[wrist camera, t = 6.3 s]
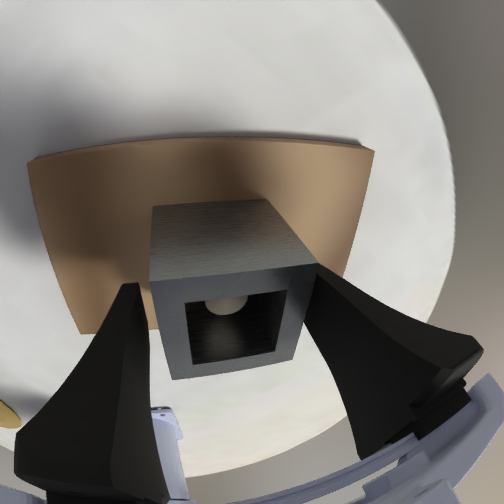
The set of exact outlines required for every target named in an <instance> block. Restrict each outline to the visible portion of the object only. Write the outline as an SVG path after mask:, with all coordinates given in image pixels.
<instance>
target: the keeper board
mask: <svg viewBox="0 0 504 504" xmlns="http://www.w3.org/2000/svg"><path fill="white" fill-rule="evenodd" d="M374 152H375V151H373V150H371V149H369V148H367V147H364V146H359V145H352V144H344V143H335V142H325V141H315V140H302V139H287V138H267V137H192V138H172V139H157V140H145V141H134V142H125V143H117V144H109V145H101V146H94V147H88V148H82V149H76V150H70V151H65V152H59V153H54V154H50V155H45V156H40V157H36V158H34V159H33V160H32V161H30V162H29V163H27V167H28V173H29V179H30V184H31V189H32V194H33V199H34V204H35V208H36V212H37V216H38V220H39V224H40V228H41V231H42V235H43V238H44V242H45V245H46V248H47V251H48V255H49V258H50V261H51V264H52V266H53V269H54V272H55V275H56V278H57V280H58V283H59V286H60V288H61V291H62V293H63V296H64V298H65V301H66V303H67V305H68V308H69V310H70V312H71V315H72V317H73V319H74V321H75V323H76V326H77V328H78V330H79V332H80V334H96V333H97V331H98V330H99V328H100V326H101V324H102V322H103V320H104V318H105V317H106V315H107V313H108V311H109V309H110V307H111V305H112V303H113V301H114V299H115V297H116V295H117V293H118V291H119V288H120V286H121V285H122V284H124V283H135V282H139V285H140V290H141V295H142V299H143V303H144V308H145V312H146V316H147V320H148V329H149V330H153V329H159V327H158V323H157V318H156V313H155V309H154V304H153V299H152V294H151V289H150V283H149V264H150V239H151V222H152V208H153V206H159V205H171V204H184V203H197V202H213V201H230V200H251V199H268V200H269V202H270V203H271V204H272V205H273V206H274V208H275V209H276V210H277V211H278V212H279V214H280V215H281V216H282V217H283V218H284V220H285V221H286V222H287V223H288V225H289V226H290V227H291V228H292V229H293V231H294V232H295V233H296V234H297V236H298V237H299V238H300V239H301V241H302V242H303V243H304V244H305V246H306V247H307V248H308V249H309V251H310V252H311V253H312V254H313V256H314V257H315V258H316V259H317V261H318V262H319V264H321V265H323V266H325V267H326V268H328V269H330V270H331V271H333V272H334V273H336V274H337V275H339V276H340V277H343V274H344V271H345V268H346V265H347V261H348V258H349V254H350V251H351V248H352V244H353V241H354V237H355V233H356V230H357V226H358V222H359V218H360V214H361V211H362V207H363V202H364V198H365V194H366V190H367V186H368V181H369V177H370V172H371V167H372V162H373V158H374ZM247 298H248V295H245V296H237V297H229V298H221V299H213V300H205V304H206V307H207V308H208V310H210V311H211V312H213V313H215V314H218V315H227V314H231V313H234V312H236V311H238V310H239V309H241V308H242V307H243V306H244V305H245V303H246V301H247Z"/></svg>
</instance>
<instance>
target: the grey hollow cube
mask: <svg viewBox="0 0 504 504" xmlns="http://www.w3.org/2000/svg"><path fill="white" fill-rule="evenodd" d="M318 265H319V262H318V261H317V259H316V258H315V257H314V256H313V254H312V253H311V252H310V251H309V249H308V248H307V247H306V246H305V244H304V243H303V242H302V241H301V239H300V238H299V237H298V236H297V234H296V233H295V232H294V231H293V229H292V228H291V227H290V226H289V225H288V223H287V222H286V221H285V220H284V218H283V217H282V216H281V215H280V214H279V212H278V211H277V210H276V209H275V208H274V206H273V205H272V204H271V203H270V202H269V200H268V199H251V200H230V201H213V202H197V203H184V204H171V205H159V206H153V208H152V222H151V239H150V264H149V283H150V289H151V294H152V299H153V304H154V309H155V313H156V318H157V323H158V327H159V331H160V335H161V340H162V344H163V348H164V352H165V356H166V359H167V363H168V367H169V370H170V374H171V378H172V380H178V379H186V378H194V377H202V376H209V375H216V374H222V373H228V372H234V371H240V370H245V369H251V368H256V367H261V366H266V365H271V364H275V363H280V362H284V361H289V360H292V359H293V356H294V353H295V349H296V346H297V343H298V339H299V336H300V333H301V329H302V326H303V322H304V319H305V315H306V311H307V308H308V304H309V300H310V297H311V293H312V289H313V285H314V281H315V277H316V273H317V269H318ZM245 295H248V298H247V301H246V303H245V305H244V306H243V307H242V308H241V309H239V310H238V311H236V312H234V313H231V314H227V315H218V314H215V313H213V312H211V311H210V310H208V308H207V307H206V304H205V300H213V299H221V298H229V297H237V296H245Z"/></svg>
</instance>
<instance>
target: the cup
mask: <svg viewBox="0 0 504 504" xmlns="http://www.w3.org/2000/svg"><path fill="white" fill-rule="evenodd" d="M0 426H1V427H5V428H18V427H20V426H21V421H20V419H19V418H18V416H17V415H16V414H15V413H14V412H13V411H12V410H11V409H10V408H8V407H7V406H6V405H5V404H3V403H2V402H1V401H0Z"/></svg>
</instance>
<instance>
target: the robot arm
mask: <svg viewBox="0 0 504 504" xmlns="http://www.w3.org/2000/svg"><path fill="white" fill-rule="evenodd" d="M304 324H305V325H306V327H307V329H308V331H309V333H310V335H311V336H312V338H313V340H314V342H315V343H316V345H317V347H318V349H319V351H320V352H321V354H322V356H323V358H324V359H325V361H326V363H327V365H328V367H329V369H330V371H331V373H332V375H333V378H334V380H335V382H336V385H337V387H338V390H339V392H340V395H341V398H342V401H343V403H344V406H345V409H346V412H347V415H348V418H349V422H350V425H351V428H352V432H353V436H354V440H355V444H356V449H357V454H358V456H359V458H360V459H361V461H360V462H357V463H355V464H353V465H351V466H349V467H346V468H344V469H342V470H339V471H337V472H335V473H332V474H330V475H327V476H325V477H322V478H319V479H317V480H314V481H311V482H308V483H305V484H303V485H299V486H296V487H293V488H291V489H287V490H283V491H280V492H276V493H273V494H269V495H266V496H261V497H257V498H253V499H248V500H244V501H239V502H234V503H228V504H302V503H305V502H308V501H311V500H313V499H316V498H319V497H321V496H324V495H327V494H329V493H331V492H334V491H336V490H338V489H341V488H343V487H345V486H348V485H350V484H352V483H354V482H356V481H358V480H360V479H362V478H364V477H366V476H368V475H370V474H372V473H374V472H376V471H378V470H380V469H381V468H383V467H385V466H387V465H389V464H390V463H392V462H394V461H396V460H397V459H399V458H400V459H399V460H398V465H397V466H396V467H395V468H393V469H392V470H390V471H388V472H386V473H384V474H383V475H381V476H379V477H377V478H375V479H373V480H371V481H370V482H368V483H366V484H364V485H363V486H362V488H363V489H364V492H365V495H363V496H361V497H359V498H357V499H355V500H352V501H350V502H348V503H346V504H461V503H460V501H459V499H458V497H457V495H456V493H455V492H454V489H455V487H456V486H457V485H458V484H459V483H460V481H462V479H463V478H464V477H465V476H466V475H467V473H468V472H469V471H470V469H471V468H472V467H473V466H474V464H475V463H476V462H477V460H478V459H479V458H480V456H481V455H482V454H483V452H484V451H485V449H486V448H487V446H488V445H489V444H490V442H491V441H492V439H493V437H494V436H495V434H496V433H497V431H498V430H499V429H500V427H501V426H502V424H503V423H504V392H503V391H502V389H501V388H500V387H499V385H498V384H497V382H496V381H495V380H494V378H493V377H492V376H491V374H490V373H487V374H486V375H485V376H484V377H482V379H480V380H479V381H478V382H477V383H476V384H475V385H474V386H473V387H472V388H471V389H470V390H469V391H468V392H466V391H465V389H464V388H463V387H465V386H466V382H465V380H464V379H463V378H464V376H466V374H467V373H468V372H469V371H470V370H471V369H472V368H473V366H474V365H475V364H476V363H477V361H478V360H479V359H480V357H481V356H482V354H483V350H484V349H483V348H482V346H481V345H480V344H479V343H478V342H477V340H476V339H475V338H473V336H470V335H465V334H461V333H456V332H452V331H447V330H445V329H441V328H438V327H435V326H432V325H429V324H426V323H424V322H421V321H419V320H416V319H414V318H411V317H409V316H407V315H405V314H403V313H401V312H399V311H397V310H395V309H393V308H391V307H389V306H387V305H385V304H383V303H381V302H380V301H378V300H376V299H375V298H373V297H371V296H370V295H368V294H366V293H365V292H363V291H362V290H360V289H358V288H357V287H355V286H354V285H352V284H351V283H349V282H348V281H346V280H345V279H343V278H342V277H340V276H339V275H337V274H336V273H334V272H333V271H331V270H330V269H328V268H326V267H325V266H323V265H321V264H319V265H318V269H317V273H316V277H315V281H314V285H313V289H312V293H311V297H310V300H309V304H308V308H307V311H306V315H305V319H304ZM182 438H183V436H182V433H181V431H180V428H179V426H178V423H177V421H176V418H175V416H174V413H173V411H172V410H170V409H162V410H151V406H150V342H149V329H148V320H147V316H146V312H145V308H144V303H143V299H142V295H141V290H140V285H139V282H135V283H124V284H122V285H121V286H120V288H119V291H118V293H117V295H116V297H115V299H114V301H113V303H112V305H111V307H110V309H109V311H108V313H107V315H106V317H105V318H104V320H103V322H102V324H101V326H100V328H99V330H98V331H97V333H96V335H95V336H94V338H93V340H92V342H91V343H90V345H89V347H88V348H87V350H86V352H85V353H84V355H83V356H82V358H81V359H80V361H79V362H78V364H77V365H76V367H75V368H74V369H73V371H72V372H71V373H70V375H69V376H68V377H67V379H66V380H65V382H64V383H63V384H62V385H61V387H60V388H59V389H58V390H57V392H56V393H55V394H54V395H53V396H52V397H51V398H50V400H49V401H48V402H47V403H46V404H45V405H44V407H43V408H42V409H41V410H40V411H39V412H38V413H37V414H36V415H35V416H34V417H33V418H32V419H31V420H30V421H29V422H28V423H27V424H26V425H25V426H23V427H22V428H21V429H20V430H19V431H18V432H17V433H16V439H15V449H14V473H15V475H16V476H17V477H19V478H20V479H22V480H24V481H25V482H28V483H29V484H32V485H34V486H36V487H38V488H40V489H43V490H45V491H46V497H47V500H43V499H41V498H40V497H37V496H35V495H32V494H29V493H26V492H23V491H19V490H16V489H13V488H10V487H7V486H4V485H1V484H0V504H197V502H196V501H190V497H189V493H188V490H187V486H186V481H185V477H184V472H183V468H182V463H181V458H180V454H179V449H178V443H177V440H179V439H182Z"/></svg>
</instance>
